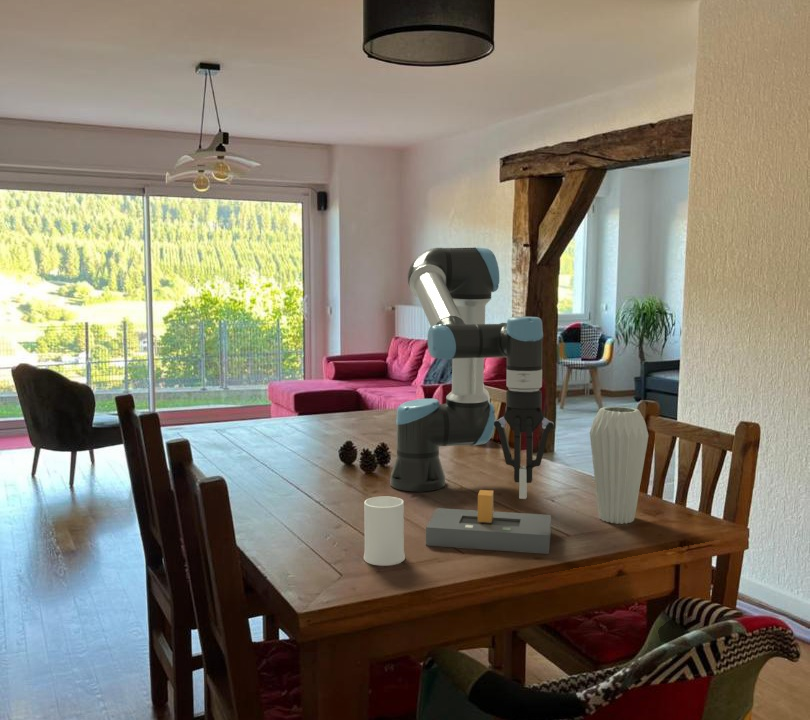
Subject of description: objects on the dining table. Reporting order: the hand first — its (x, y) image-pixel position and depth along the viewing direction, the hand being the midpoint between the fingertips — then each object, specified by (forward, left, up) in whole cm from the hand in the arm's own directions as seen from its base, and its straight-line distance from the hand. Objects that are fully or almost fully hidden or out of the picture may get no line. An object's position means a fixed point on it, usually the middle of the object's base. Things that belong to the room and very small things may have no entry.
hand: (523, 496), depth 171 cm
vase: (+21, +20, -10) cm, 31 cm away
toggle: (-8, 0, -6) cm, 10 cm away
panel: (-7, 0, -10) cm, 12 cm away
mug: (-28, -15, -10) cm, 33 cm away
